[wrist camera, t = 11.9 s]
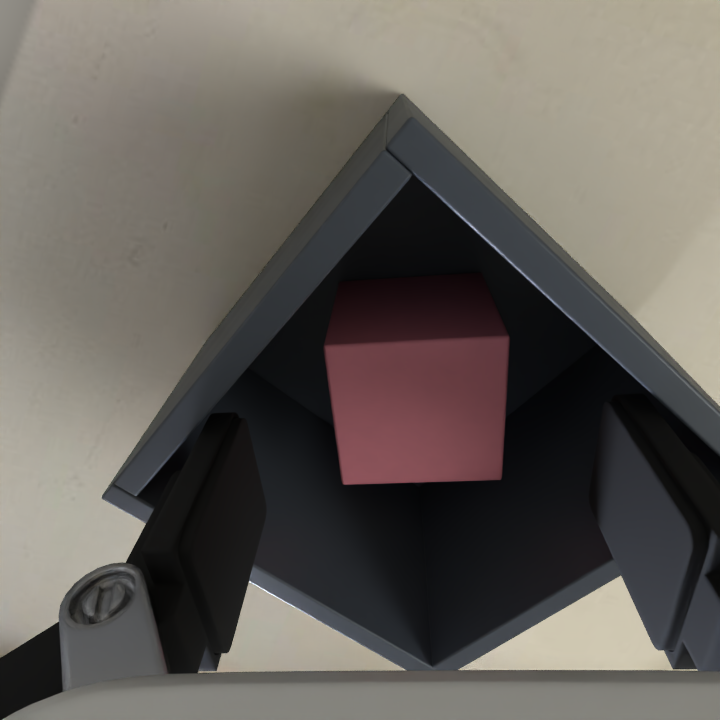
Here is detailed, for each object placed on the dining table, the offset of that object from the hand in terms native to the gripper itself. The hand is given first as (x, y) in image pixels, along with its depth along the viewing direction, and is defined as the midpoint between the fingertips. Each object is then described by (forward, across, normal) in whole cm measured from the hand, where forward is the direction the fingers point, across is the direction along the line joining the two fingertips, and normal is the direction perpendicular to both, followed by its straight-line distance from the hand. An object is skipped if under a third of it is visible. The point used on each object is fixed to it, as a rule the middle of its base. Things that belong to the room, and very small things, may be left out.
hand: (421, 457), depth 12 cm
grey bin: (+7, 0, 0) cm, 7 cm away
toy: (+6, 0, 0) cm, 6 cm away
